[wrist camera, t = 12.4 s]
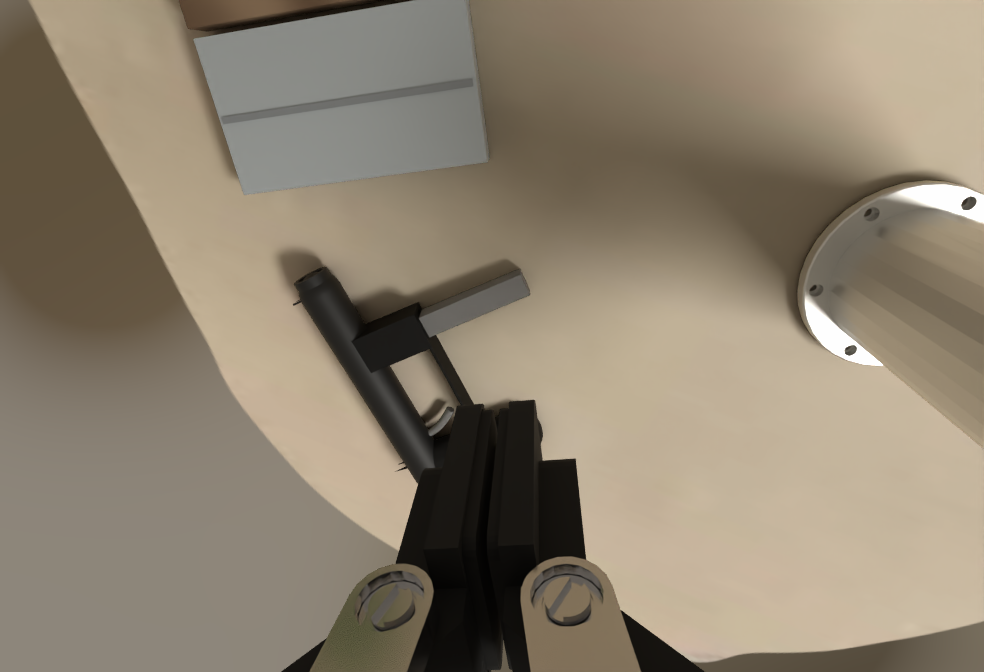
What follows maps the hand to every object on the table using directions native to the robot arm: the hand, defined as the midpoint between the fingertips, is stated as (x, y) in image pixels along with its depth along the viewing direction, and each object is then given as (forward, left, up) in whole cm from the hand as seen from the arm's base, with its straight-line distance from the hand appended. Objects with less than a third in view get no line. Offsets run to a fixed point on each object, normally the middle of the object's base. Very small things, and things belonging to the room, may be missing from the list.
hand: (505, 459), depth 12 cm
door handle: (+7, +11, -28) cm, 31 cm away
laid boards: (+10, -7, -27) cm, 30 cm away
